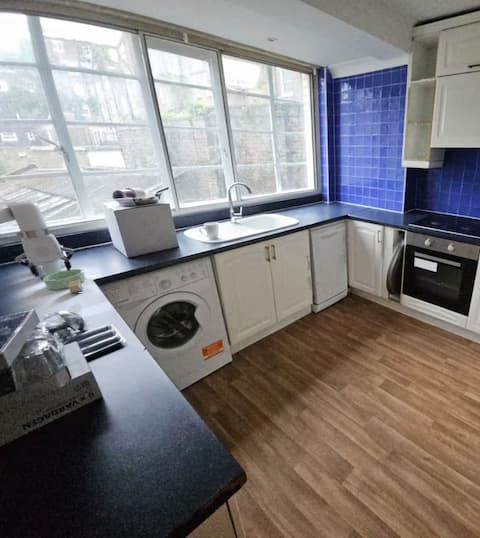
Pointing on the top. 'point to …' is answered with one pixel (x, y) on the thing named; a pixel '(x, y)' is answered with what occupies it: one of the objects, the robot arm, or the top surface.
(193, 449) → the top surface
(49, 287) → the bowl
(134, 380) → the top surface
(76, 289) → the eraser
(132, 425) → the top surface
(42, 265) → the teacup
